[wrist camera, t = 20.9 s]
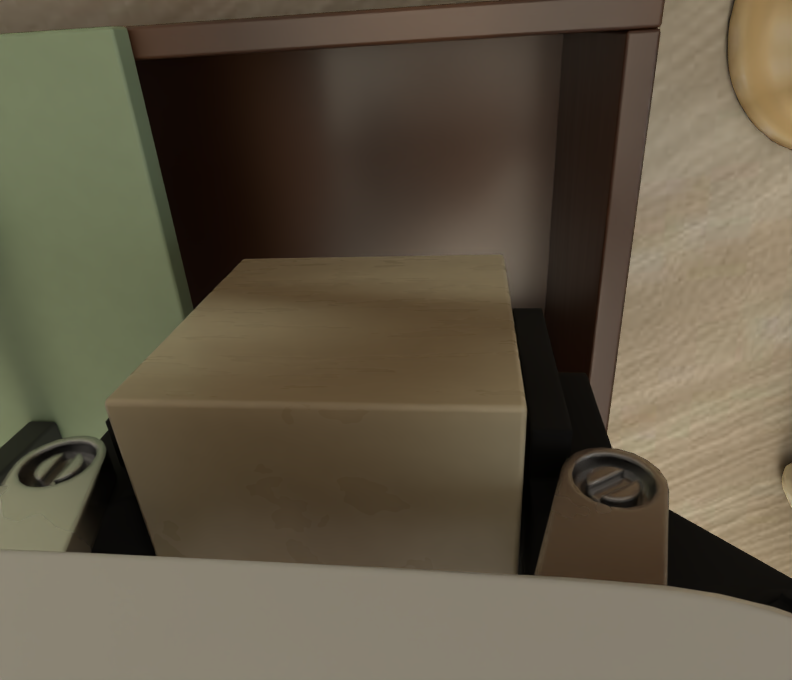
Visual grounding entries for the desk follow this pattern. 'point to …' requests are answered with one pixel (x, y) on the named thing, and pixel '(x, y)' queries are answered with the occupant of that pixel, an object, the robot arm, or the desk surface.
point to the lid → (77, 235)
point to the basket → (787, 483)
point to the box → (416, 146)
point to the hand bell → (763, 64)
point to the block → (335, 417)
